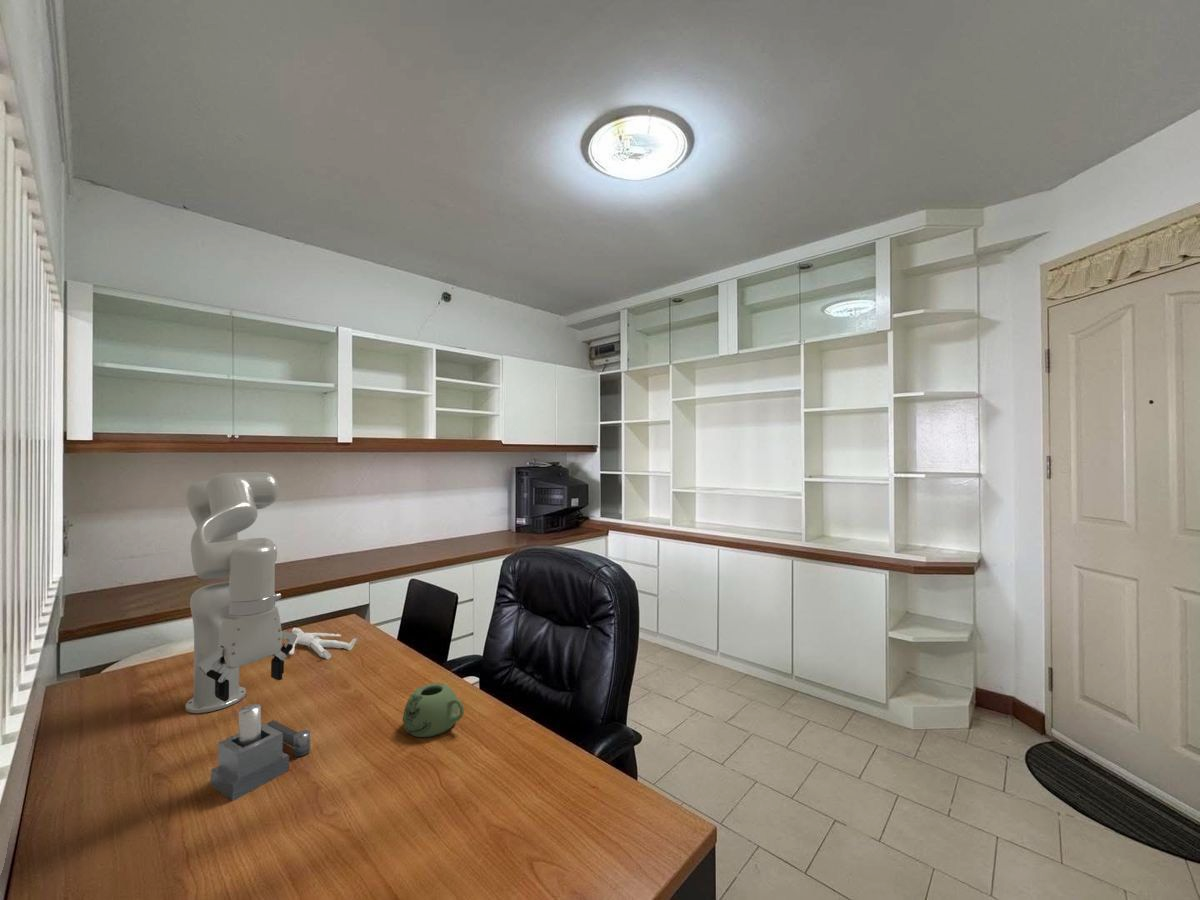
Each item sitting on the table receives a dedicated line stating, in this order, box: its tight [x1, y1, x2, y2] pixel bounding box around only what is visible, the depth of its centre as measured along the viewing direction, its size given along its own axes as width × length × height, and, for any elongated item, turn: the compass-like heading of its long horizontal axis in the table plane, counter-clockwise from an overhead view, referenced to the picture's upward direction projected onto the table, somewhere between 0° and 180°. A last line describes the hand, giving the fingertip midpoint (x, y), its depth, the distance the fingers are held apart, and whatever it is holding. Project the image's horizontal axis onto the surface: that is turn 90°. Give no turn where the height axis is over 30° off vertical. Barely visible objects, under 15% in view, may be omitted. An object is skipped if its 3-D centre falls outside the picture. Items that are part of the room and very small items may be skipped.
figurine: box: [288, 627, 358, 660], centre depth 161 cm, size 6×19×25 cm
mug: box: [402, 682, 465, 738], centre depth 113 cm, size 16×13×9 cm
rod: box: [238, 703, 262, 748], centre depth 95 cm, size 4×4×11 cm
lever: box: [265, 719, 311, 758], centre depth 106 cm, size 16×3×4 cm, turn 61°
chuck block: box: [210, 722, 290, 801], centre depth 95 cm, size 9×10×8 cm
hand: (250, 688), depth 96 cm, fingers open, 9 cm apart
